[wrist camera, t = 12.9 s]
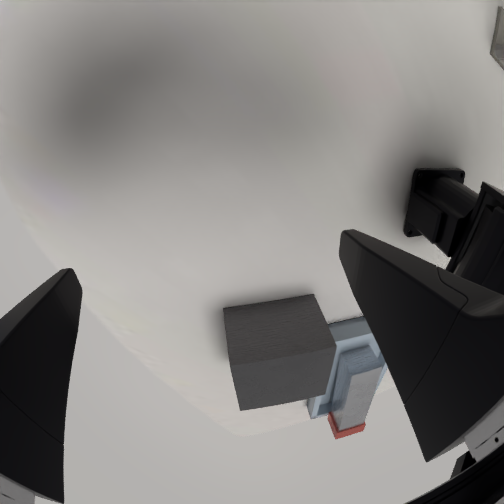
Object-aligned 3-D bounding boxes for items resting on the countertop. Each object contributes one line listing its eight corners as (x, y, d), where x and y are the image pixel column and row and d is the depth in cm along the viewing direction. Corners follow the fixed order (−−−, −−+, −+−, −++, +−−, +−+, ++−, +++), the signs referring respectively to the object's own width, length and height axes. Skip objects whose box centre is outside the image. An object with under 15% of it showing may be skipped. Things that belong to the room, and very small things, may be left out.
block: (313, 294, 27) (337, 346, 22) (308, 347, 32) (325, 394, 26) (223, 308, 27) (230, 365, 21) (232, 360, 31) (240, 410, 26)
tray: (396, 308, 31) (406, 323, 29) (364, 390, 41) (369, 402, 39) (319, 326, 30) (327, 343, 28) (306, 405, 40) (310, 419, 38)
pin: (371, 344, 32) (385, 367, 29) (354, 410, 39) (363, 430, 35) (337, 353, 32) (350, 377, 28) (327, 418, 39) (335, 439, 35)
